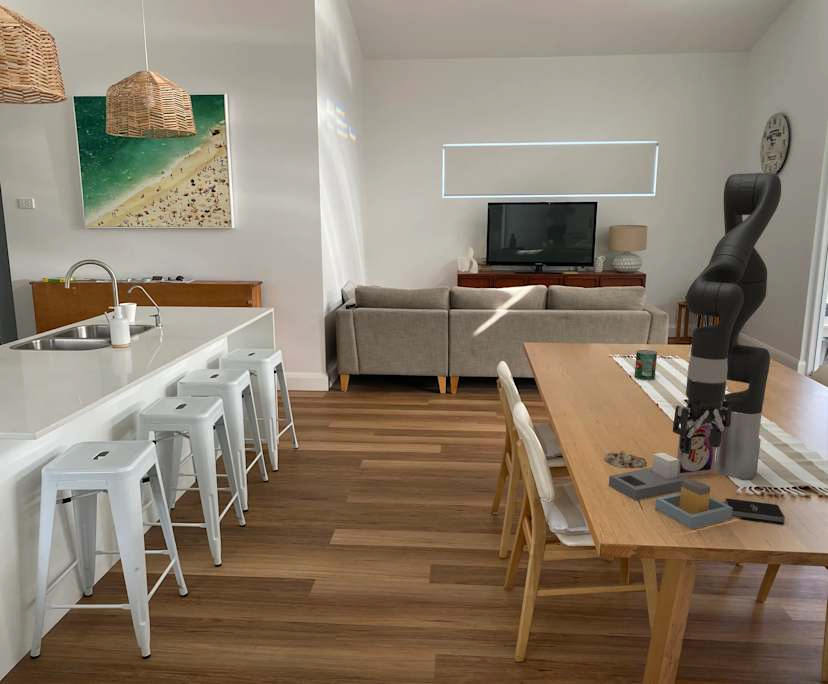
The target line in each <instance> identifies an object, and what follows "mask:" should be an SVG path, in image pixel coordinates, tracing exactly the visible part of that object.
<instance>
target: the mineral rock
mask: <svg viewBox="0 0 828 684" xmlns="http://www.w3.org/2000/svg"><path fill="white" fill-rule="evenodd" d="M604 454H605V457H604V461H605V462H606V463H608V464H609V465H610V466H614V467H617V468H619V469H628V468H629V469H640V468H645V467H646V466H647V464H648V462H647V461H646V458H645V457H640V456H637V455H634V454H630V453H628V454H627V452H625V451H624V450H620V451H619V453H618V452H610V453H609V452H608V453H607V452H606V453H604Z"/></svg>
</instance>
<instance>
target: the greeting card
mask: <svg viewBox="0 0 828 684" xmlns="http://www.w3.org/2000/svg"><path fill="white" fill-rule="evenodd" d="M689 422H691V423H694V422H693V421H692V420H690V421H689ZM679 428H681V425H679ZM689 428H690V427H688V428H687V429H686V431H688V430H689ZM710 429H712V427H711V426H710V424H709V423H705V424H703V425H700V427H699V428H698V429H697V430H695V431H694V433H693V434H692V436H691V437H692V443H691V453H689V454H685V453H683V452H681V451H680V448H679V446H680V435H678V436H679V438H678V447H677V448H678V449H677V458H676V459H679V461H678V472H677V474H678V475H680V476H682V477H688V476H689V477H691V476H698V475H705V474H713V473H714V471H715V469H714V467H715V458H716V449H717V448H715V447H713V446H711V445H710V444H709V439H710Z"/></svg>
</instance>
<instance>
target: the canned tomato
mask: <svg viewBox="0 0 828 684" xmlns="http://www.w3.org/2000/svg"><path fill="white" fill-rule="evenodd" d="M635 354H636V355H635V366H634V377H635V378H634V379H636V378H637V379H636V380H639V379H640V380H639V381H645V380H648V382H650V380H651V381H655V380H654V379H656V371H657V369H656V367H657V359H658V358H657V357H658V352H657V351H655V350H649V349H637V350H636V353H635Z"/></svg>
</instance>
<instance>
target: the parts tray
mask: <svg viewBox="0 0 828 684" xmlns="http://www.w3.org/2000/svg"><path fill="white" fill-rule="evenodd" d="M680 494H681V492H679V493H675V494H673V493H672V494H670V495H665V496H661V497H657V498H655V505H654V506H655V507H654V509H655V510H656V511H658V512H660V513H662V514H663V515H666V516H667V517H669V518H670V519H672V520H675V522H678V523H679V524H681V525H683V526H684V527H686V528H687V529H688V528H689V529H690V530H689V531H694V530H695V531H696V530H699V529H704V527H705V528H707V527H708V526H709V527H712V525H713V526H715V525H716V524H717V525H719V524H720V523H721V524H724V522H725V523H726V522H730V521H732V517H733V516H732V510H733V507H731V506H729V505H726V504H724V503H725V502H723V501H720V500H718V499H716V498H714V497H712V496H711V495H710V496H709V505H708V511H705V512H701V513H696V514H692V515H691V514H689V513H687V512H686V511H684V510H682V509H680V508H679V504H680ZM726 520H727V521H726ZM691 529H692V530H691Z"/></svg>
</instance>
